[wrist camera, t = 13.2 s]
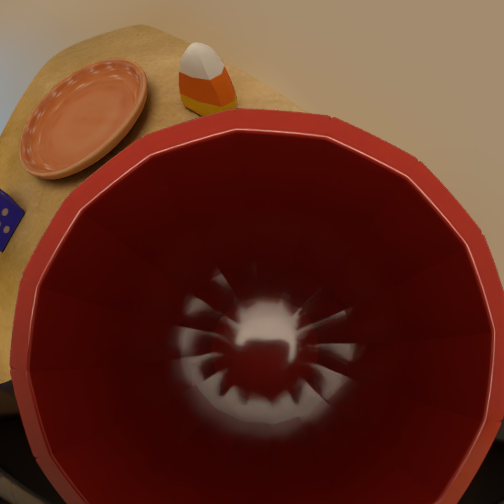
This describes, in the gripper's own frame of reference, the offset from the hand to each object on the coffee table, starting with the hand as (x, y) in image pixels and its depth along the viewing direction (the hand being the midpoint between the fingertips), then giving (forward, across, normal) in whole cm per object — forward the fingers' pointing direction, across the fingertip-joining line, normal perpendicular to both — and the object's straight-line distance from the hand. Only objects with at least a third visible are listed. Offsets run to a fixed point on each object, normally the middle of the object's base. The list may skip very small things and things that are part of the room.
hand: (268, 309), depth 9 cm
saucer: (+22, +20, -5) cm, 30 cm away
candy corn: (+23, +6, -5) cm, 24 cm away
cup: (+4, 0, +6) cm, 7 cm away
